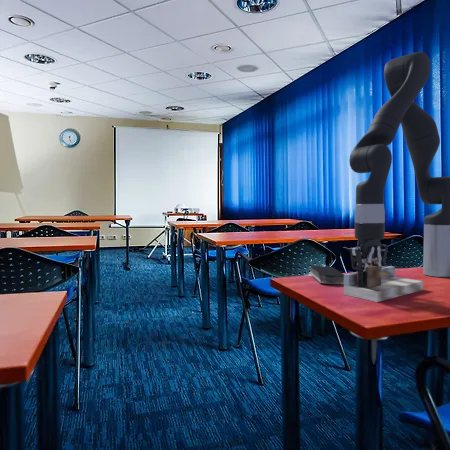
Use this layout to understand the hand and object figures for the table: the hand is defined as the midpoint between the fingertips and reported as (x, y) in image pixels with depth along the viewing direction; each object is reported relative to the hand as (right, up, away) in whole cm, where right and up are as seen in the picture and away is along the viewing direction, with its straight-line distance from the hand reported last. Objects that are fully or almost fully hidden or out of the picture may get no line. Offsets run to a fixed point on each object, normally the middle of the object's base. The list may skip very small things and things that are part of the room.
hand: (368, 283), depth 99 cm
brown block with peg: (+1, 0, -2) cm, 2 cm away
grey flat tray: (+5, -3, +3) cm, 7 cm away
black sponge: (-6, -3, +20) cm, 21 cm away
